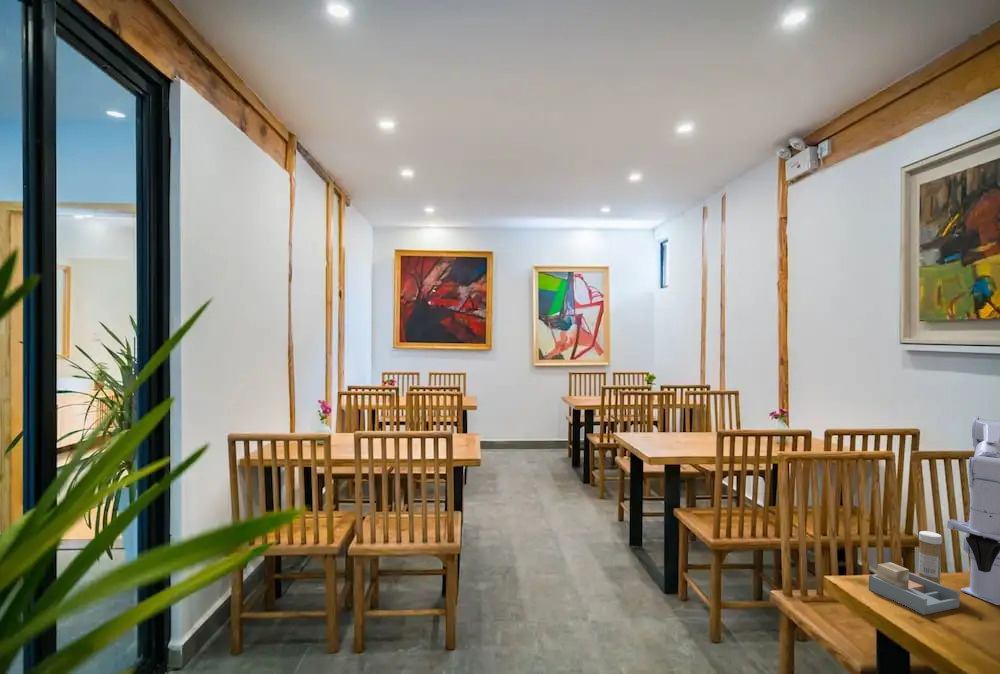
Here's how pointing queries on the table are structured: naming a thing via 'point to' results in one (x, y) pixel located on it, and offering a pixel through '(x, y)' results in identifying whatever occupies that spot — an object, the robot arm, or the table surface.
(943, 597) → the trap box
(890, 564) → the beech block
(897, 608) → the table surface
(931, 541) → the sprinkles bottle
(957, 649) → the table surface
